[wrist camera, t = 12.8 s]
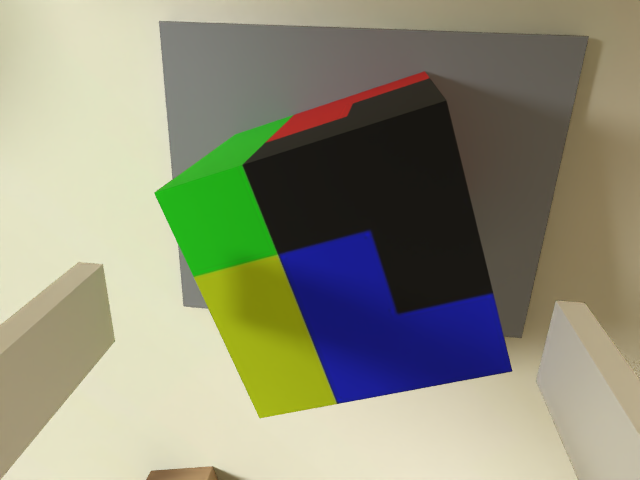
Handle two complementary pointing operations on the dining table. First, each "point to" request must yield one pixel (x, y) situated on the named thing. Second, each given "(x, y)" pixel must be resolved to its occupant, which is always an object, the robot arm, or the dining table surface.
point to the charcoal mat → (379, 69)
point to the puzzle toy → (341, 251)
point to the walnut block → (184, 474)
